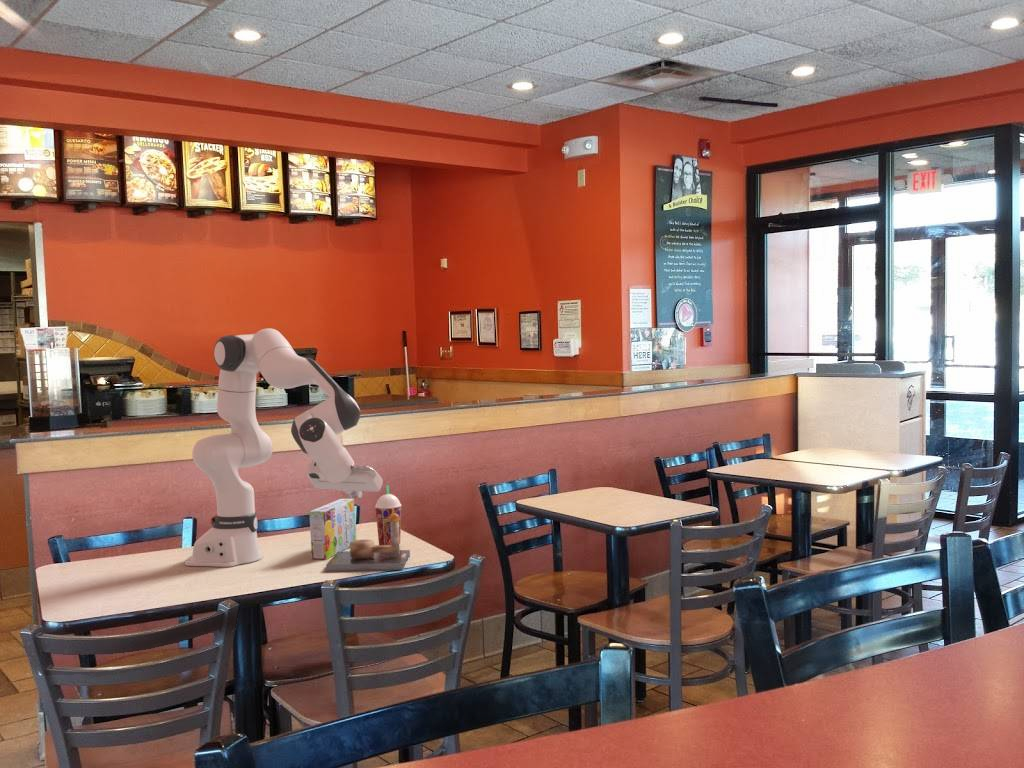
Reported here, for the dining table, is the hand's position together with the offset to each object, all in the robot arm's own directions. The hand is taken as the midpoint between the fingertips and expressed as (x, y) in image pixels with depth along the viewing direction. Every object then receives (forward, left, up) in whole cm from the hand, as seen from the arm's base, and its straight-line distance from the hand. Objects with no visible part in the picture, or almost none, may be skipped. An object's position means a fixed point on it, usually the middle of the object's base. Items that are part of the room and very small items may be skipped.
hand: (357, 495), depth 250 cm
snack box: (-14, +33, -23) cm, 43 cm away
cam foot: (+2, +16, -21) cm, 26 cm away
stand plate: (0, +16, -23) cm, 28 cm away
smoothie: (+3, +36, -23) cm, 43 cm away
